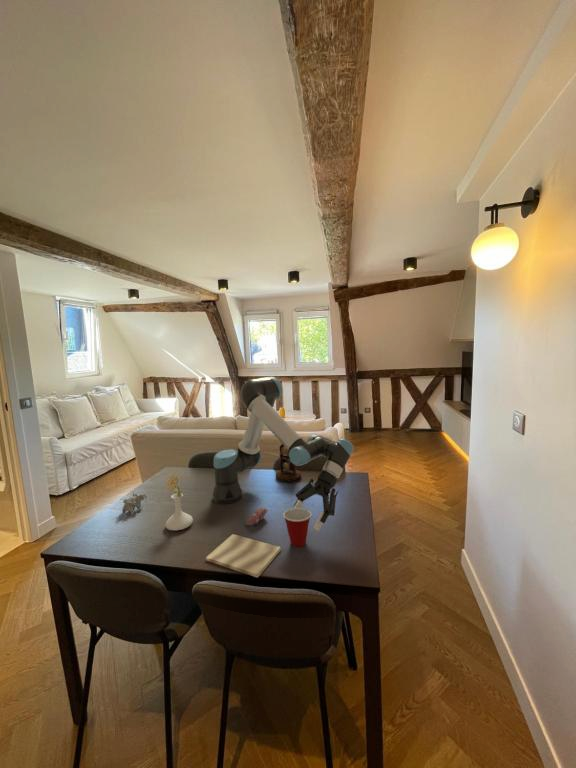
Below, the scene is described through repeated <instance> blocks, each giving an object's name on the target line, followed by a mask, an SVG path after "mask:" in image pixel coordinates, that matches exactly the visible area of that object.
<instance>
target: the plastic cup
mask: <svg viewBox="0 0 576 768" xmlns="http://www.w3.org/2000/svg"><path fill="white" fill-rule="evenodd" d="M282 516H283V517H284V520H285V524H286V529H287V533H288V538H289V542H290V545H291V546H293V547H295V548H302V547H304V546H305V545H306V543H307V536H308V532H309V531H308V530H309V523H310V518H312V512H311V511H310V510H307V509H306V508H302V507H301V508H294V509H293V508H290V509H287V510H285V511H284V512H283V514H282Z"/></svg>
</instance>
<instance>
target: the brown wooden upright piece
mask: <svg viewBox="0 0 576 768" xmlns="http://www.w3.org/2000/svg"><path fill="white" fill-rule="evenodd" d="M279 458H280V461H279V463H280V464H279V466H280V470H278V471H277V472H276V473H275V478H276V480H278V481H279V480H280V481H281V482H282V481H284V482H288V483H289V484H290V483H291V482H292V481H296V480H298V479H300V478H301V477H302V472H301V471H300V470H298V469H297V466H296V465H294V464H293V463H292V462H291V460H290V458H289V450H288V449H287V448H286V447H285V446H284V445H283V444H282V443H281V445H280V446H279Z"/></svg>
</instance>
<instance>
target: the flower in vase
mask: <svg viewBox="0 0 576 768" xmlns="http://www.w3.org/2000/svg"><path fill="white" fill-rule="evenodd" d="M179 478H180V477H179V475H178V473H177V472H175V473H174V472H172V473H171V474H170V476H168V479H167V482H166V491H167V492H168V493H170V492H173V494H172V495H171V496H170V498H171V499H172V500H173V503H174V509H175V510H174V511H175V512H174V513H173V514H172V515H171V516H170V517H169V518H168V519H167V520H166V522H165V528H166V529H167V530H169V531H175V532H176V531H180V530H184V529H187V528H189V527H190V526H191V525H192V523H193V522H194V518H193V516H192V515H190V514H188V513H186V512H185V511H182V505H181V504H182V499H183V496H184V494H183V493H182V492H181V491H182V490H180V488H179V486H178V485H179Z"/></svg>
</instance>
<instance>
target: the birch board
mask: <svg viewBox="0 0 576 768" xmlns="http://www.w3.org/2000/svg"><path fill="white" fill-rule="evenodd" d="M281 551H282V550H281V546H278V545H274V544H270V543H266V542H262V541H260V540H256V539H252V538H249V537H246V536H241V535H237V534H233V533H232V534H231V535H230V536H229V537H227V538H226V539H225V540H224V541H223V542H222V543H221V544H219V545H218V546H217V547H216V548H214V550H213V551H211V552H210V553H209V554H208V555H207V556H206V557H205V561H206V562H210V563H212V564H216V565H217V566H218V565H219V566H222V567H224V568H228V569H231V570H234V571H236V572H240V573H243V574H245V575H249V576H252V577H254V578H259V577H260V576H261V575H262V573H263V572H264V571H265V569H267V567H268V566H269V565H270V564H271V562H272V561H273V560H274V559H275V558H276V557H277V556H278V554H279V553H280V552H281Z"/></svg>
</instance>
